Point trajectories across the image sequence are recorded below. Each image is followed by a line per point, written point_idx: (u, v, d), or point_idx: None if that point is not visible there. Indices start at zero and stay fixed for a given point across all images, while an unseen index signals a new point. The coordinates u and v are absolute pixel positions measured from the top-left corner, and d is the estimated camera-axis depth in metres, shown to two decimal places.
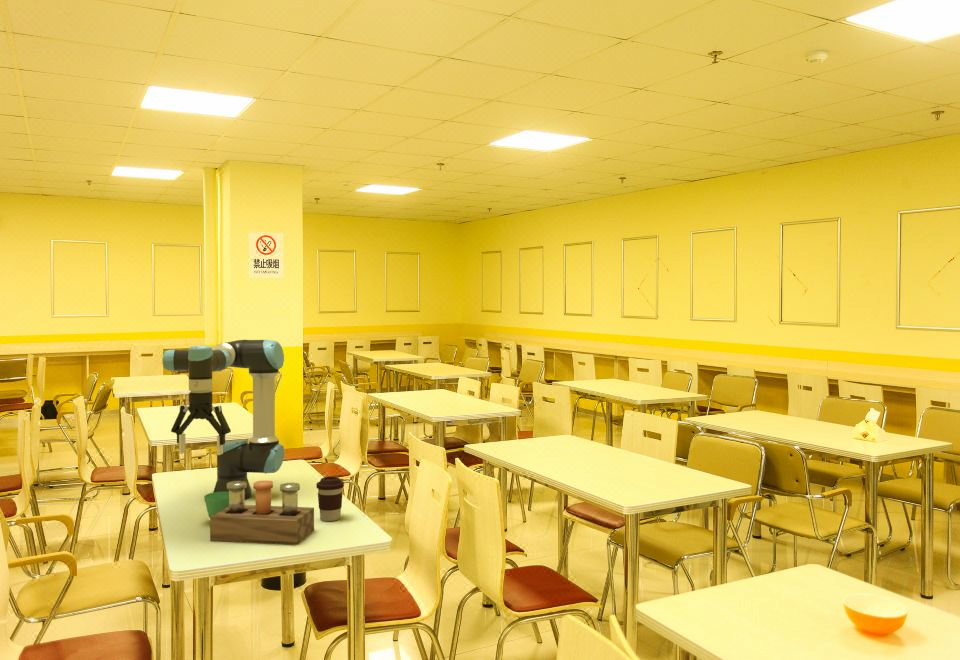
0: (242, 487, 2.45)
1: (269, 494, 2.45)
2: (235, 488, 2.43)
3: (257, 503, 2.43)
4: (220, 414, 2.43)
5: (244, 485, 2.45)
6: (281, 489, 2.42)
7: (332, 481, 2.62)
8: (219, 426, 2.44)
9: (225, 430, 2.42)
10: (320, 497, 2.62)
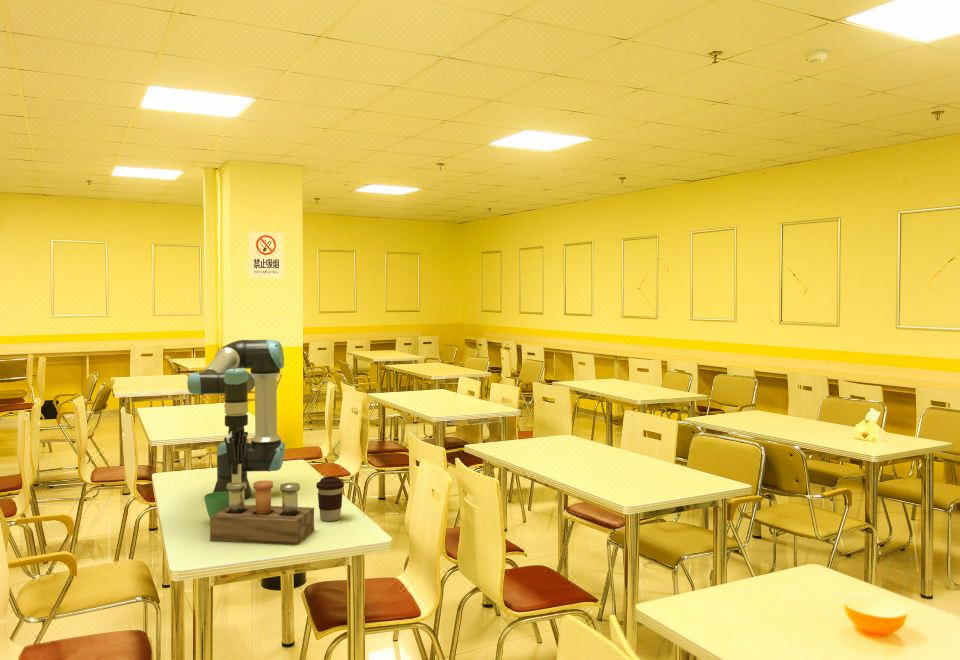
0: (242, 488, 2.45)
1: (269, 494, 2.45)
2: (235, 489, 2.43)
3: (257, 503, 2.43)
4: (228, 445, 2.41)
5: (244, 486, 2.45)
6: (281, 489, 2.42)
7: (332, 481, 2.62)
8: None
9: None
10: (320, 497, 2.62)
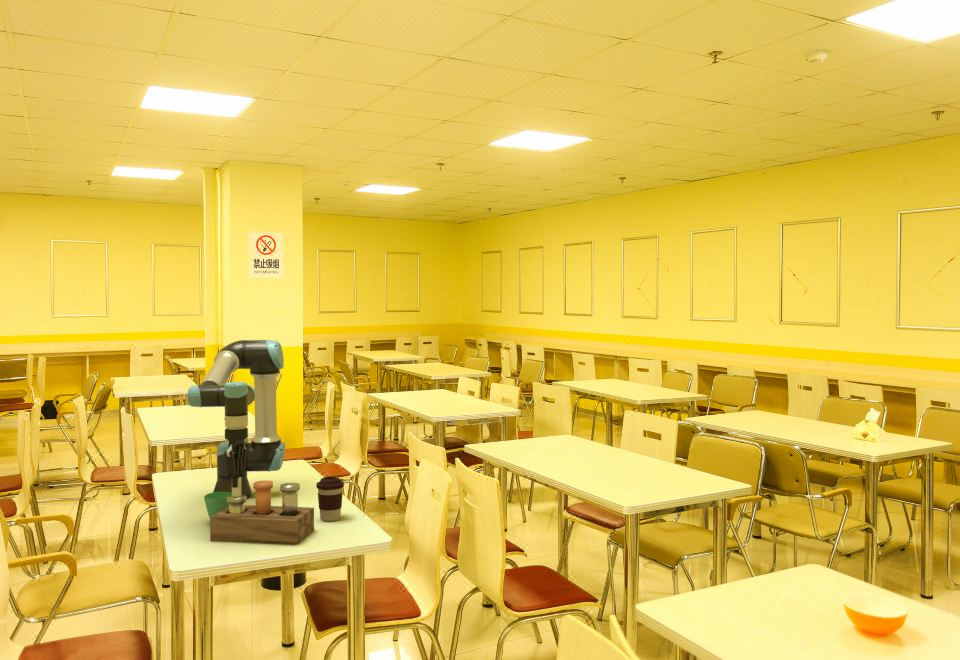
0: (242, 501, 2.45)
1: (269, 494, 2.45)
2: (235, 502, 2.44)
3: (257, 503, 2.43)
4: (228, 459, 2.41)
5: (244, 499, 2.46)
6: (281, 489, 2.42)
7: (332, 481, 2.62)
8: None
9: None
10: (320, 497, 2.62)
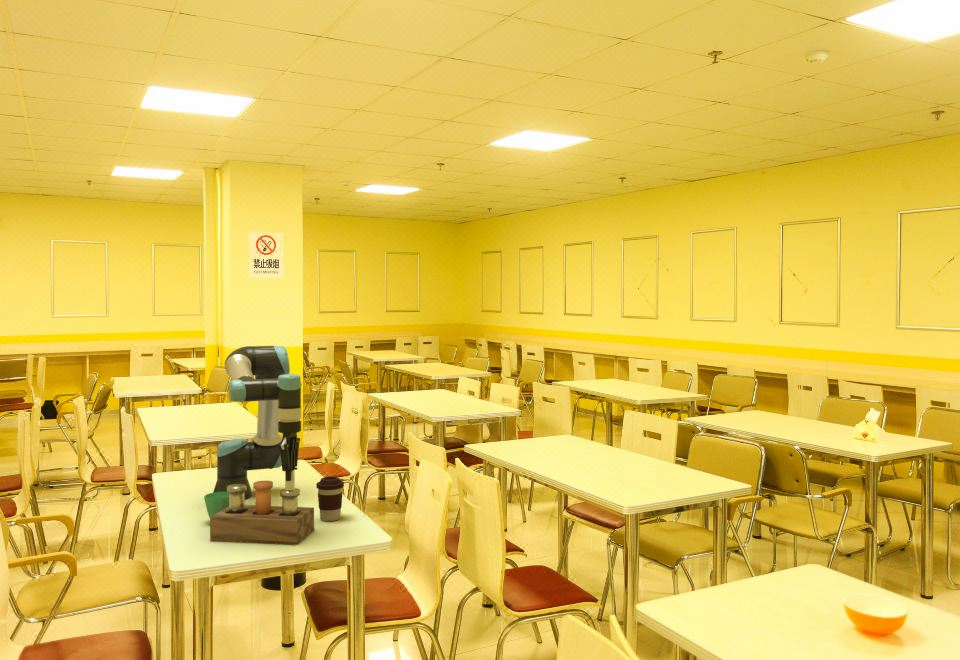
0: (242, 490, 2.45)
1: (269, 494, 2.45)
2: (235, 491, 2.43)
3: (257, 503, 2.43)
4: (282, 452, 2.39)
5: (244, 488, 2.46)
6: (281, 495, 2.42)
7: (332, 481, 2.62)
8: None
9: None
10: (320, 497, 2.62)
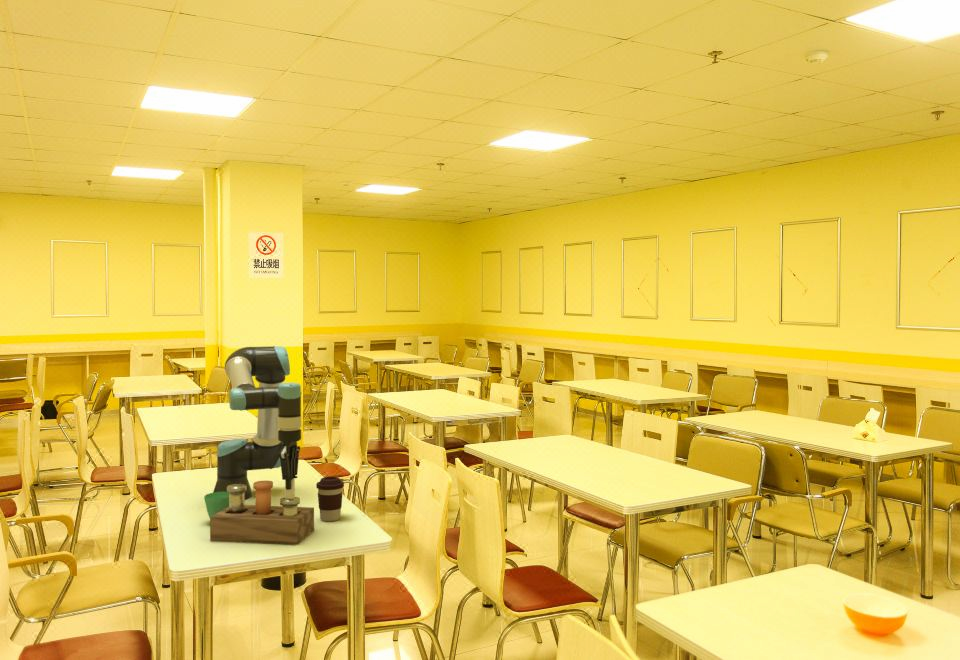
0: (242, 490, 2.45)
1: (269, 494, 2.45)
2: (235, 491, 2.43)
3: (257, 503, 2.43)
4: (282, 461, 2.39)
5: (244, 488, 2.46)
6: (281, 503, 2.42)
7: (332, 481, 2.62)
8: None
9: None
10: (320, 497, 2.62)
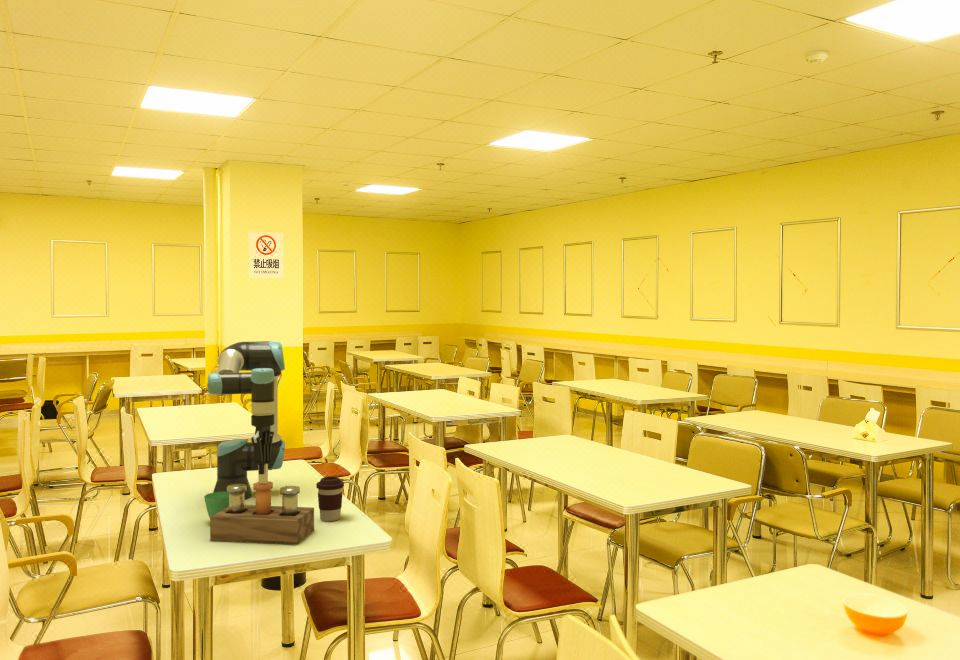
0: (242, 490, 2.45)
1: (269, 495, 2.45)
2: (235, 491, 2.43)
3: (257, 504, 2.43)
4: (255, 445, 2.40)
5: (244, 488, 2.46)
6: (281, 492, 2.42)
7: (332, 481, 2.62)
8: None
9: None
10: (320, 497, 2.62)
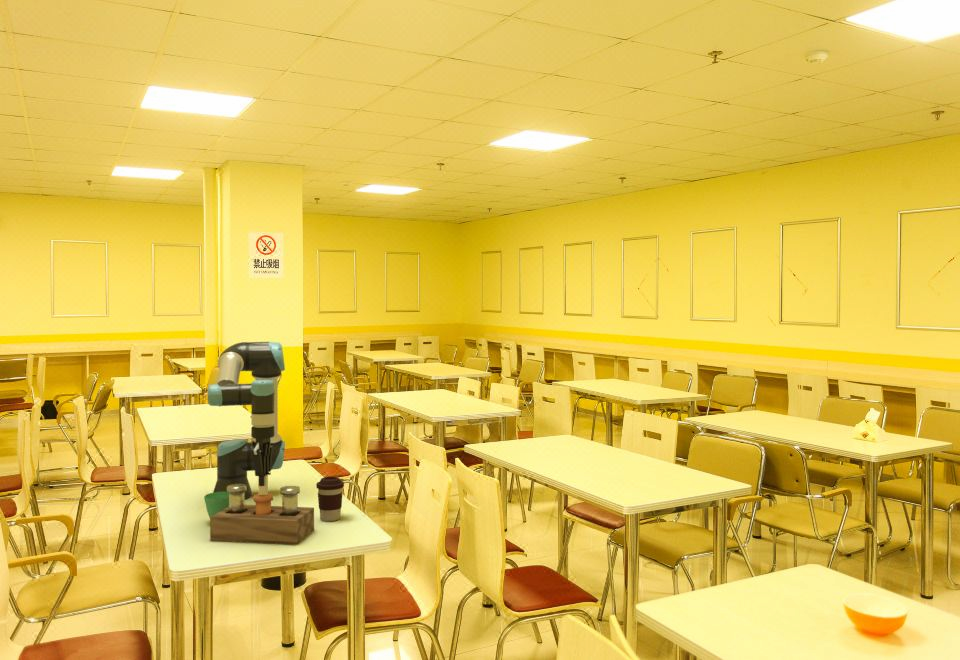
0: (242, 490, 2.45)
1: (269, 507, 2.45)
2: (235, 491, 2.43)
3: None
4: (255, 457, 2.40)
5: (244, 488, 2.46)
6: (281, 492, 2.42)
7: (332, 481, 2.62)
8: None
9: None
10: (320, 497, 2.62)
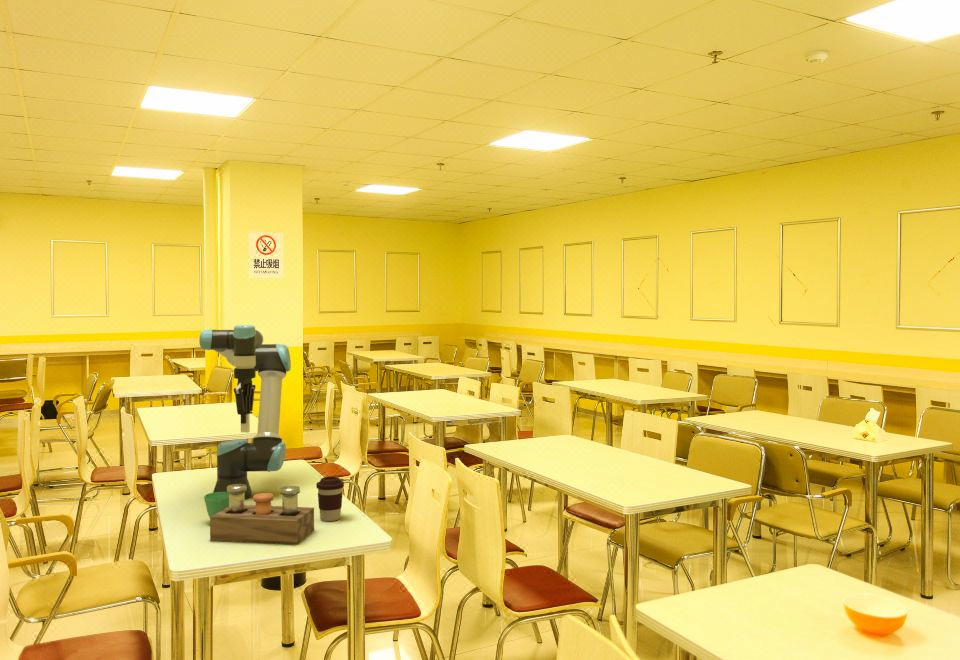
0: (242, 490, 2.45)
1: (269, 507, 2.45)
2: (235, 491, 2.43)
3: None
4: (237, 396, 2.57)
5: (244, 488, 2.46)
6: (281, 492, 2.42)
7: (332, 481, 2.62)
8: None
9: None
10: (320, 497, 2.62)
